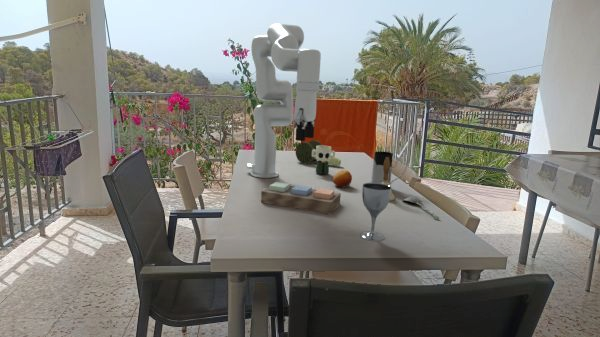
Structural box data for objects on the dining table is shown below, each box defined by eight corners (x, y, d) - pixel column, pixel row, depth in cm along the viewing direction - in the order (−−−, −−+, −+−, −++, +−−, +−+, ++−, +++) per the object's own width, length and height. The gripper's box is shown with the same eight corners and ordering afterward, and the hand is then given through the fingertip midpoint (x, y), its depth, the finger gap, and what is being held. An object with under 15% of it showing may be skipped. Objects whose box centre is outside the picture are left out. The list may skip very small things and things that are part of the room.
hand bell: (382, 201, 150) (386, 160, 146) (368, 195, 157) (372, 155, 153) (399, 199, 153) (404, 159, 150) (385, 193, 160) (389, 154, 157)
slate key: (291, 196, 140) (291, 188, 140) (296, 193, 145) (297, 185, 145) (306, 199, 138) (306, 191, 138) (311, 195, 143) (311, 187, 143)
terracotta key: (313, 200, 137) (314, 192, 137) (318, 196, 143) (319, 188, 142) (329, 203, 136) (329, 194, 135) (333, 198, 141) (334, 190, 140)
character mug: (311, 175, 185) (312, 147, 182) (309, 171, 192) (311, 144, 189) (334, 175, 186) (336, 148, 183) (332, 172, 193) (334, 145, 190)
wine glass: (355, 230, 119) (359, 182, 116) (381, 231, 120) (386, 182, 116) (361, 241, 111) (366, 189, 108) (389, 241, 112) (395, 190, 109)
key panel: (261, 202, 141) (261, 191, 140) (274, 193, 152) (275, 183, 151) (330, 213, 133) (331, 202, 132) (339, 204, 144) (340, 193, 143)
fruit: (355, 186, 163) (346, 169, 163) (338, 194, 165) (329, 177, 165) (356, 181, 171) (348, 165, 170) (340, 189, 173) (331, 173, 172)
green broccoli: (344, 165, 210) (346, 144, 208) (334, 169, 200) (336, 146, 198) (303, 158, 223) (305, 138, 220) (292, 161, 213) (293, 140, 210)
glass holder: (371, 184, 174) (374, 150, 171) (404, 188, 170) (408, 154, 167) (368, 188, 166) (371, 153, 163) (402, 193, 162) (407, 157, 159)
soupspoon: (415, 202, 155) (399, 203, 154) (416, 194, 154) (400, 194, 153) (445, 220, 133) (427, 221, 132) (446, 210, 133) (427, 211, 132)
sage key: (269, 193, 143) (269, 185, 142) (275, 189, 148) (275, 181, 147) (283, 195, 141) (284, 187, 140) (289, 191, 146) (289, 184, 146)
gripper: (305, 87, 143) (303, 135, 147) (287, 87, 127) (285, 141, 131) (325, 88, 140) (322, 137, 144) (309, 88, 124) (306, 143, 128)
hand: (304, 138), depth 137 cm, fingers open, 8 cm apart
